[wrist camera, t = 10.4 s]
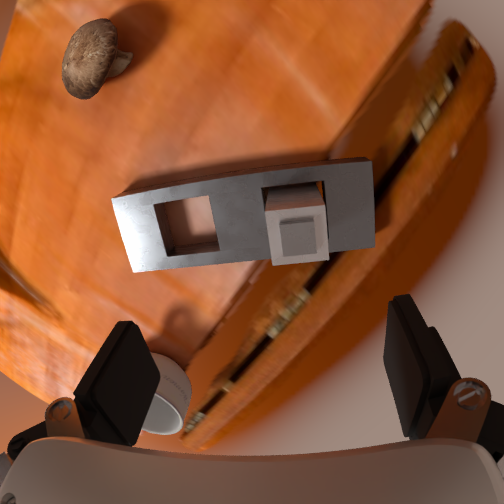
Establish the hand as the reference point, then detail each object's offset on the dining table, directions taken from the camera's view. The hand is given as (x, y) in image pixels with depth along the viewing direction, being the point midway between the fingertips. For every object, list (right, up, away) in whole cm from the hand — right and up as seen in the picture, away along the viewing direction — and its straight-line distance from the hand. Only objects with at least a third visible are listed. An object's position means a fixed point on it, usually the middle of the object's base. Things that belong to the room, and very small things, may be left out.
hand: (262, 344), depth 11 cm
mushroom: (-15, +22, +14) cm, 30 cm away
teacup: (-13, -12, +30) cm, 34 cm away
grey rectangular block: (+4, +8, +19) cm, 21 cm away
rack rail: (-1, +7, +20) cm, 21 cm away
